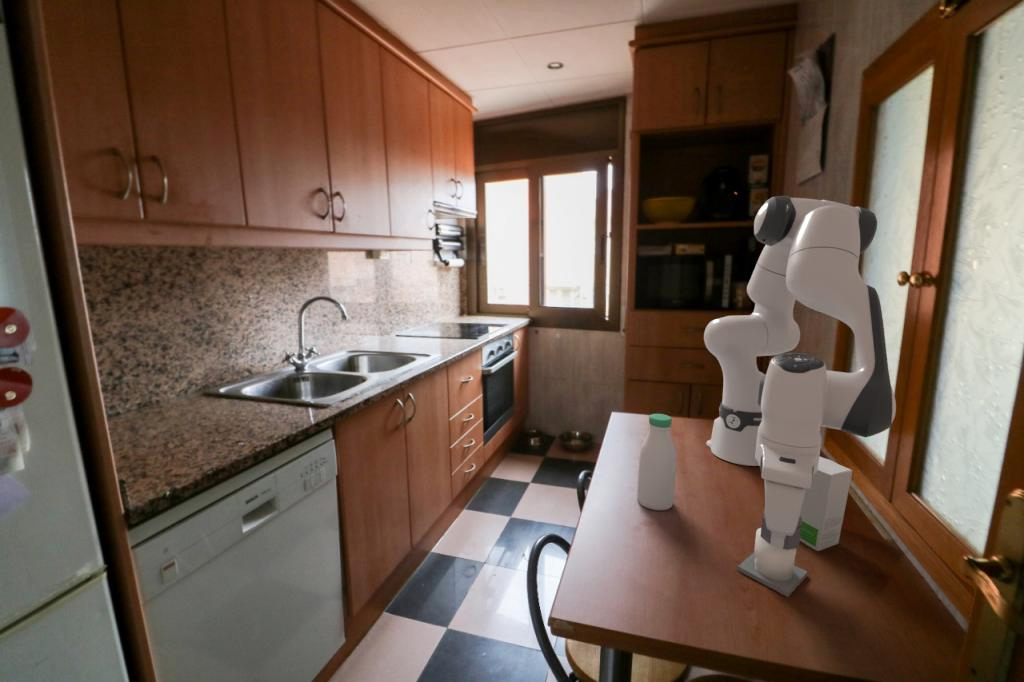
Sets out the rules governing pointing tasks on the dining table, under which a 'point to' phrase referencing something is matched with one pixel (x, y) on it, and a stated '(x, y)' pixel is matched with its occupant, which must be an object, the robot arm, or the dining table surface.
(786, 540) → the cap
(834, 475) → the skincare box
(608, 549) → the dining table surface
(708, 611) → the dining table surface
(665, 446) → the milk bottle
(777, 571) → the jar
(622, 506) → the dining table surface
